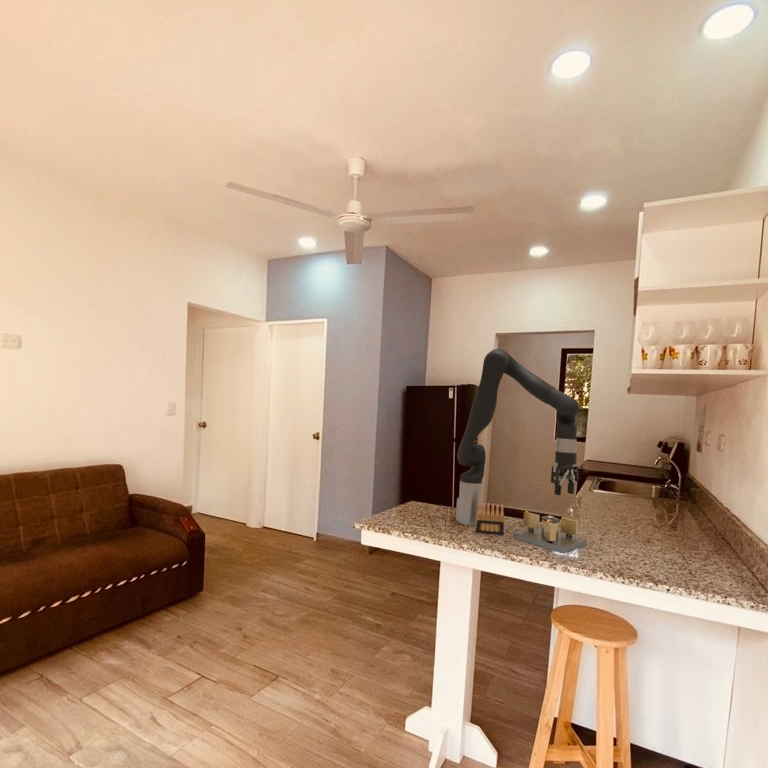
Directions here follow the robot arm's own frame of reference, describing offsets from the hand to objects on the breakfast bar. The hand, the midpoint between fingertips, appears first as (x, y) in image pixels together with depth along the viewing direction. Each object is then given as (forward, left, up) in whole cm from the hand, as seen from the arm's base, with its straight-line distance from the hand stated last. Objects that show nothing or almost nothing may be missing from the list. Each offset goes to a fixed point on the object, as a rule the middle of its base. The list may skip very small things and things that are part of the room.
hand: (564, 494), depth 164 cm
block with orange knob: (-13, -1, -17) cm, 21 cm away
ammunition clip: (-23, -14, -19) cm, 32 cm away
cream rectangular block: (0, +6, -17) cm, 18 cm away
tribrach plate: (-5, -1, -19) cm, 19 cm away
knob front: (-1, -8, -17) cm, 18 cm away
